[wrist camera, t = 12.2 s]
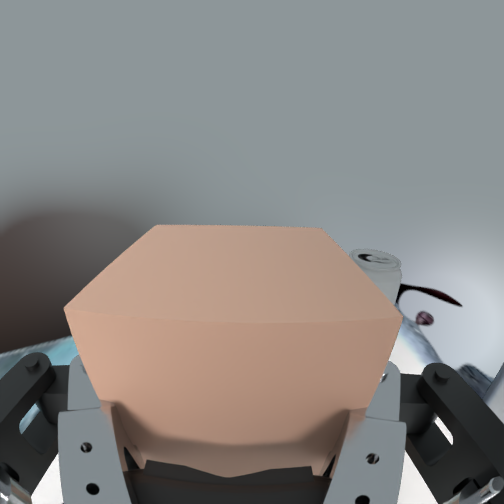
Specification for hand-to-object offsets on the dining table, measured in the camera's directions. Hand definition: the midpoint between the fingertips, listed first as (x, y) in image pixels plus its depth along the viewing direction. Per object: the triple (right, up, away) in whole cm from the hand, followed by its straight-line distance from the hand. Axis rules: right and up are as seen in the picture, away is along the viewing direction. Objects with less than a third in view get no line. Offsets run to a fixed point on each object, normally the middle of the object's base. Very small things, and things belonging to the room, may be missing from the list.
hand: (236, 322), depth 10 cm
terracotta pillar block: (0, -7, 0) cm, 7 cm away
